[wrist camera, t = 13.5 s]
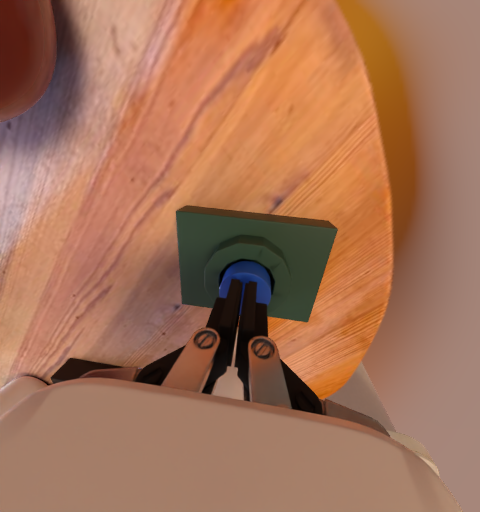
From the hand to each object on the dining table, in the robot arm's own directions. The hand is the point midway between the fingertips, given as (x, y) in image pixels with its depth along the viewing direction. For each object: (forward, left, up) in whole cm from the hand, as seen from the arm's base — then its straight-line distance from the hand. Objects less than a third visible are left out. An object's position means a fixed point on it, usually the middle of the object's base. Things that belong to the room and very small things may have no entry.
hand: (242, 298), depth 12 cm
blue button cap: (0, 0, -2) cm, 2 cm away
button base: (0, 0, -6) cm, 6 cm away
